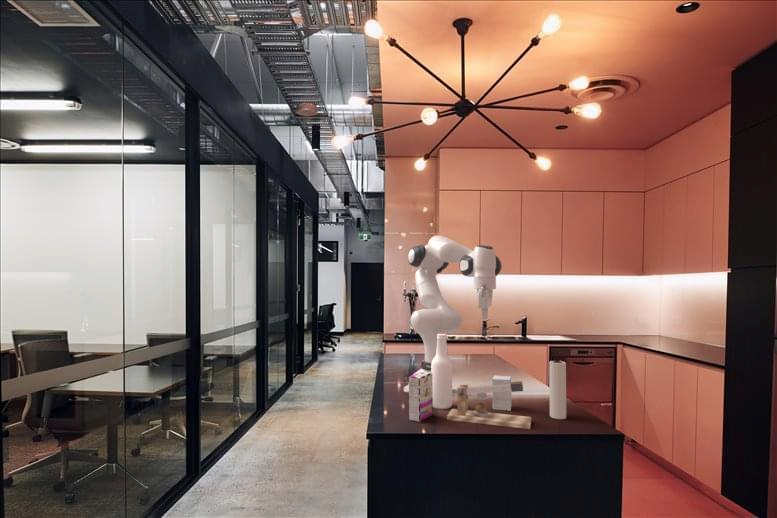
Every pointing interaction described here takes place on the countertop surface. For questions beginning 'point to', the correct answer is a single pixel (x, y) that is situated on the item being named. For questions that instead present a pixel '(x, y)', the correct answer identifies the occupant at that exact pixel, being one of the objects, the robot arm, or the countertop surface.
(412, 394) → the candy bar box
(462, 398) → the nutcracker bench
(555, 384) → the paper towel roll
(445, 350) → the alcohol
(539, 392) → the countertop surface
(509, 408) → the supplement box
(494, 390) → the lever
